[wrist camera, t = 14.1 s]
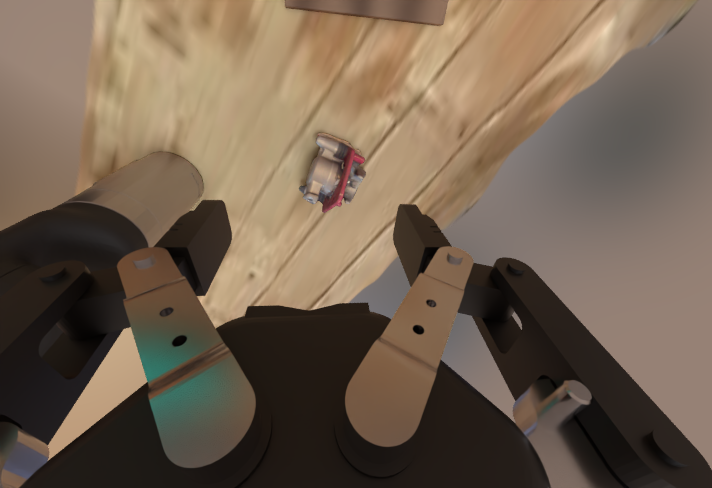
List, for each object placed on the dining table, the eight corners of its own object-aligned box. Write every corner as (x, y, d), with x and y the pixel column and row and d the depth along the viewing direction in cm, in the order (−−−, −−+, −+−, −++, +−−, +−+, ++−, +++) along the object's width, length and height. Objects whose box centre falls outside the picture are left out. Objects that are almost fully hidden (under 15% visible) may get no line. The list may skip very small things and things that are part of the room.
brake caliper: (357, 217, 48) (320, 233, 38) (313, 185, 50) (268, 191, 40) (388, 162, 43) (355, 163, 32) (338, 129, 45) (292, 119, 35)
